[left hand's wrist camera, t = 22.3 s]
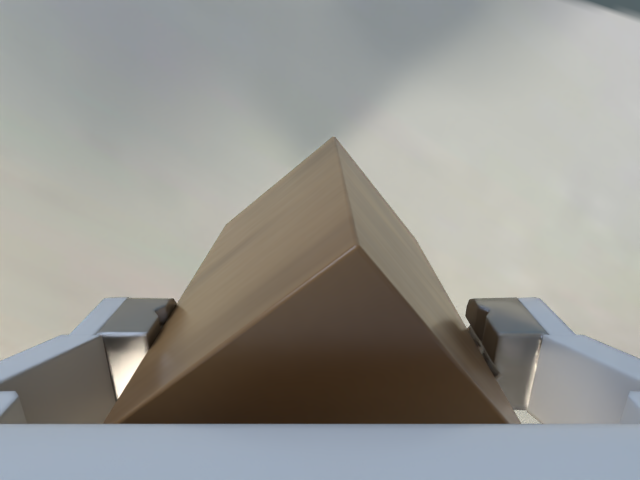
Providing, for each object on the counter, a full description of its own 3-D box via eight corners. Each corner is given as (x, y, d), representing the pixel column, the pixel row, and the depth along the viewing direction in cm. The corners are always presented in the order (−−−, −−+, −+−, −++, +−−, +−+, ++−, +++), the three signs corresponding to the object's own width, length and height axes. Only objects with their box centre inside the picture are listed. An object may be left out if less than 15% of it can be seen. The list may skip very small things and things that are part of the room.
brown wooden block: (416, 239, 15) (547, 469, 6) (309, 315, 17) (298, 601, 8) (334, 135, 14) (357, 244, 5) (225, 225, 15) (89, 442, 6)
